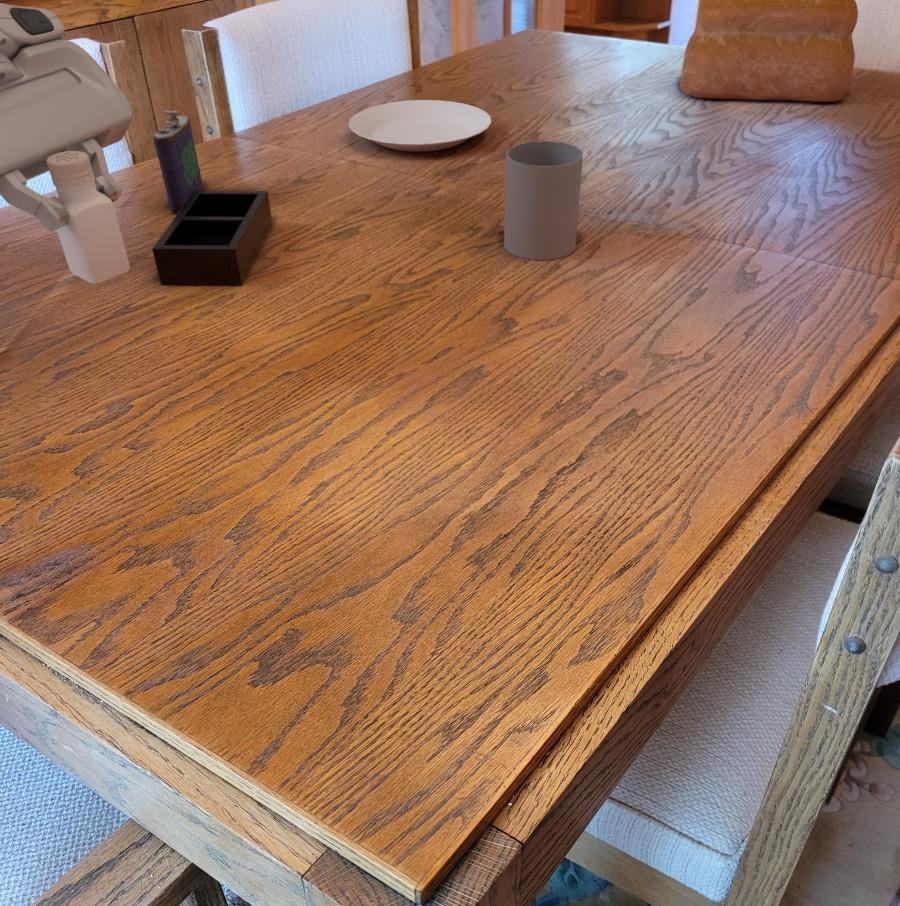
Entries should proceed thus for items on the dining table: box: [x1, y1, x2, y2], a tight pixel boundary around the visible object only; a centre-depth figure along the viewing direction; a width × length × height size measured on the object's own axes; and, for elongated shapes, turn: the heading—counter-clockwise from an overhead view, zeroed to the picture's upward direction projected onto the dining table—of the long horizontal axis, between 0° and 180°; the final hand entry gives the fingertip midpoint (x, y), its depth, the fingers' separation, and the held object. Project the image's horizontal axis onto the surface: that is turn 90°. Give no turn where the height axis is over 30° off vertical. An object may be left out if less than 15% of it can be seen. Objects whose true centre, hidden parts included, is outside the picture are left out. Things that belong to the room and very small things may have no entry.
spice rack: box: [151, 190, 273, 287], centre depth 103 cm, size 9×17×4 cm, turn 177°
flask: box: [152, 109, 205, 215], centre depth 112 cm, size 9×3×11 cm, turn 175°
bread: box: [679, 0, 859, 103], centre depth 142 cm, size 14×26×15 cm, turn 80°
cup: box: [503, 140, 584, 261], centre depth 101 cm, size 8×8×10 cm
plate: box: [348, 99, 492, 153], centre depth 133 cm, size 21×21×2 cm
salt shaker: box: [46, 151, 131, 285], centre depth 75 cm, size 4×4×10 cm
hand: (88, 211), depth 74 cm, fingers closed on salt shaker, 4 cm apart
